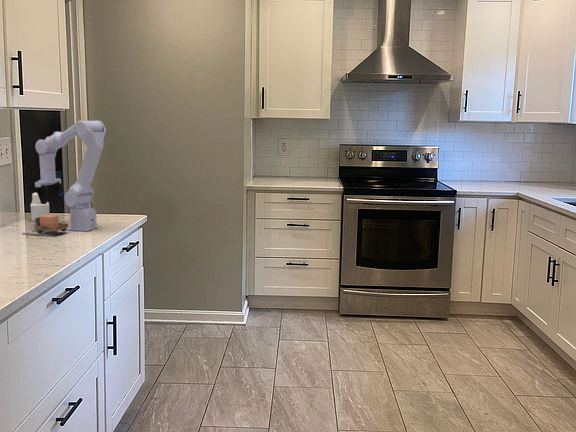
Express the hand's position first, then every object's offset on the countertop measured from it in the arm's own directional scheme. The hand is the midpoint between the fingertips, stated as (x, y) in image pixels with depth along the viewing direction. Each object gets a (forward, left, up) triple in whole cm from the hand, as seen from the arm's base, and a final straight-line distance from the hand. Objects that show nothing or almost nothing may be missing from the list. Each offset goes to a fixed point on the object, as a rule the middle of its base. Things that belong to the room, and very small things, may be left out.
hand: (49, 202), depth 235 cm
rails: (-7, +16, -9) cm, 20 cm away
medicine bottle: (+12, -10, -10) cm, 19 cm away
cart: (-11, +16, -9) cm, 22 cm away
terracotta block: (-8, +16, -4) cm, 19 cm away
